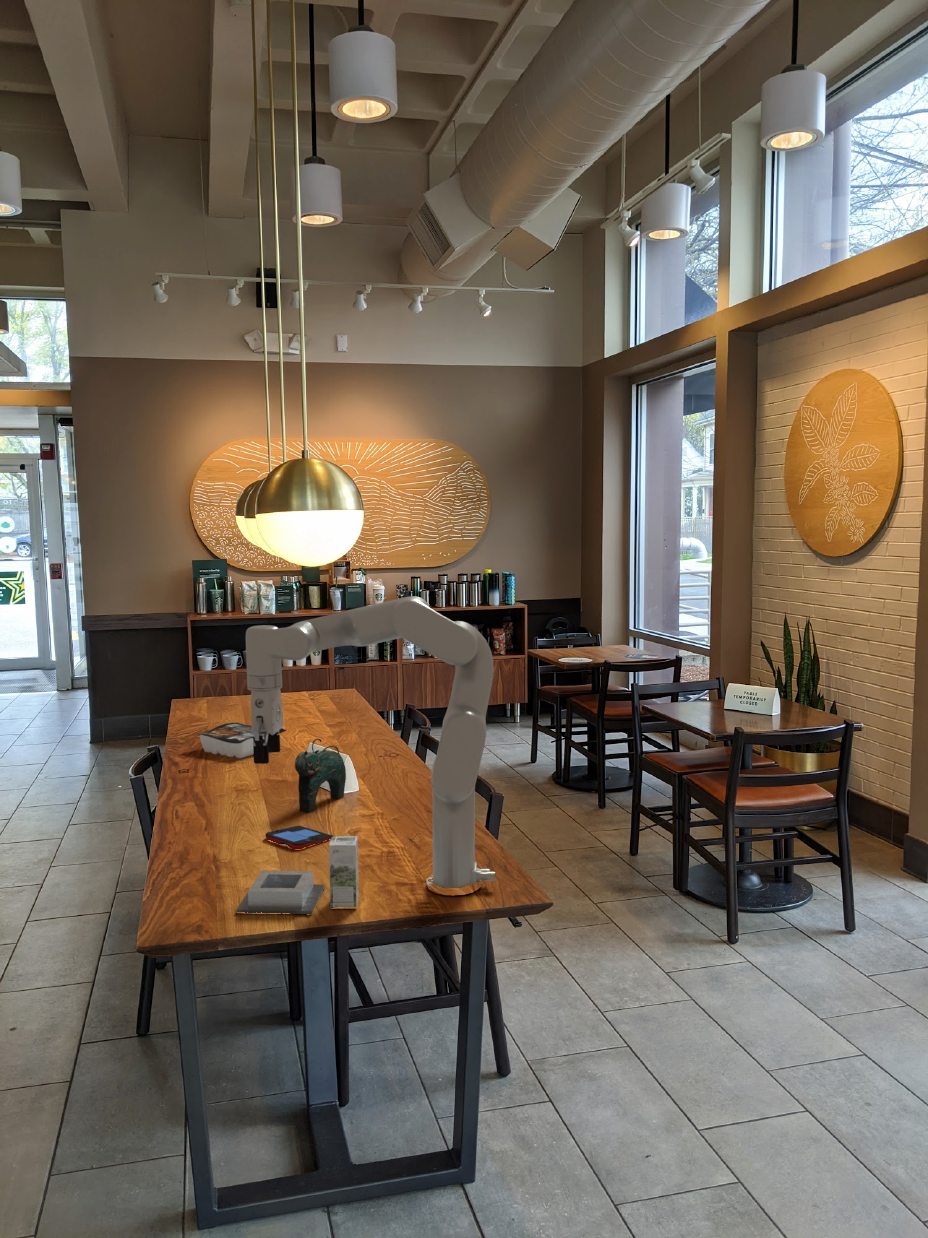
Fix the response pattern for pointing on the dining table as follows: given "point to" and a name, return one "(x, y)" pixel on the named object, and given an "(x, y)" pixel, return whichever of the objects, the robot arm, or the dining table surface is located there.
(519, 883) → the dining table surface
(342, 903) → the syrup box
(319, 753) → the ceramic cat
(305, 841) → the game console
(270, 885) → the grey holder base
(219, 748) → the food packaging
